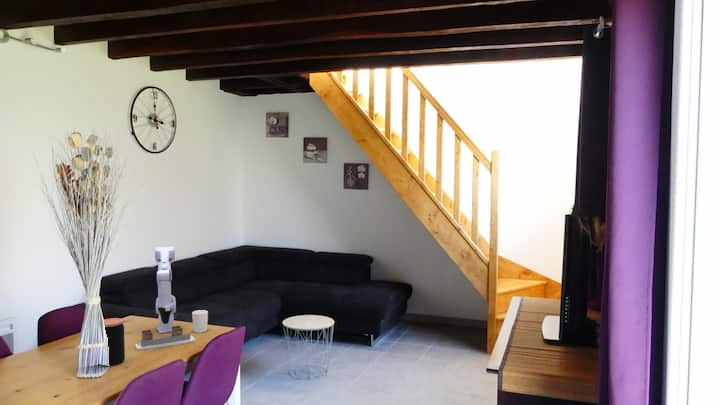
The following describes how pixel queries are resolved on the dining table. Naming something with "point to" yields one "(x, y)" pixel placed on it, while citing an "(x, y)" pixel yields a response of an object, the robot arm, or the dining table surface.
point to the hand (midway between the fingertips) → (165, 322)
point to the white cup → (200, 321)
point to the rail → (165, 340)
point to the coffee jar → (115, 340)
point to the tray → (138, 346)
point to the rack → (149, 335)
